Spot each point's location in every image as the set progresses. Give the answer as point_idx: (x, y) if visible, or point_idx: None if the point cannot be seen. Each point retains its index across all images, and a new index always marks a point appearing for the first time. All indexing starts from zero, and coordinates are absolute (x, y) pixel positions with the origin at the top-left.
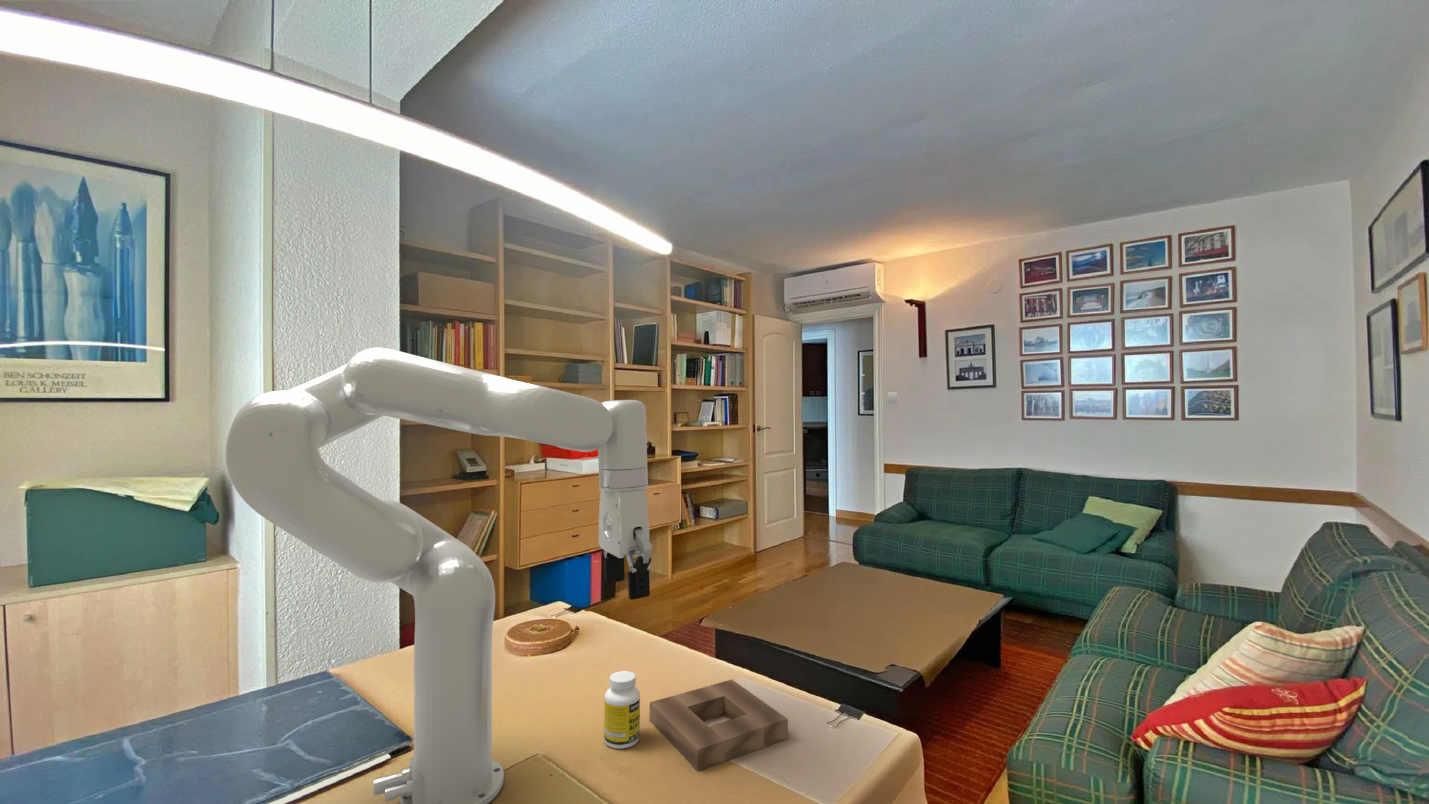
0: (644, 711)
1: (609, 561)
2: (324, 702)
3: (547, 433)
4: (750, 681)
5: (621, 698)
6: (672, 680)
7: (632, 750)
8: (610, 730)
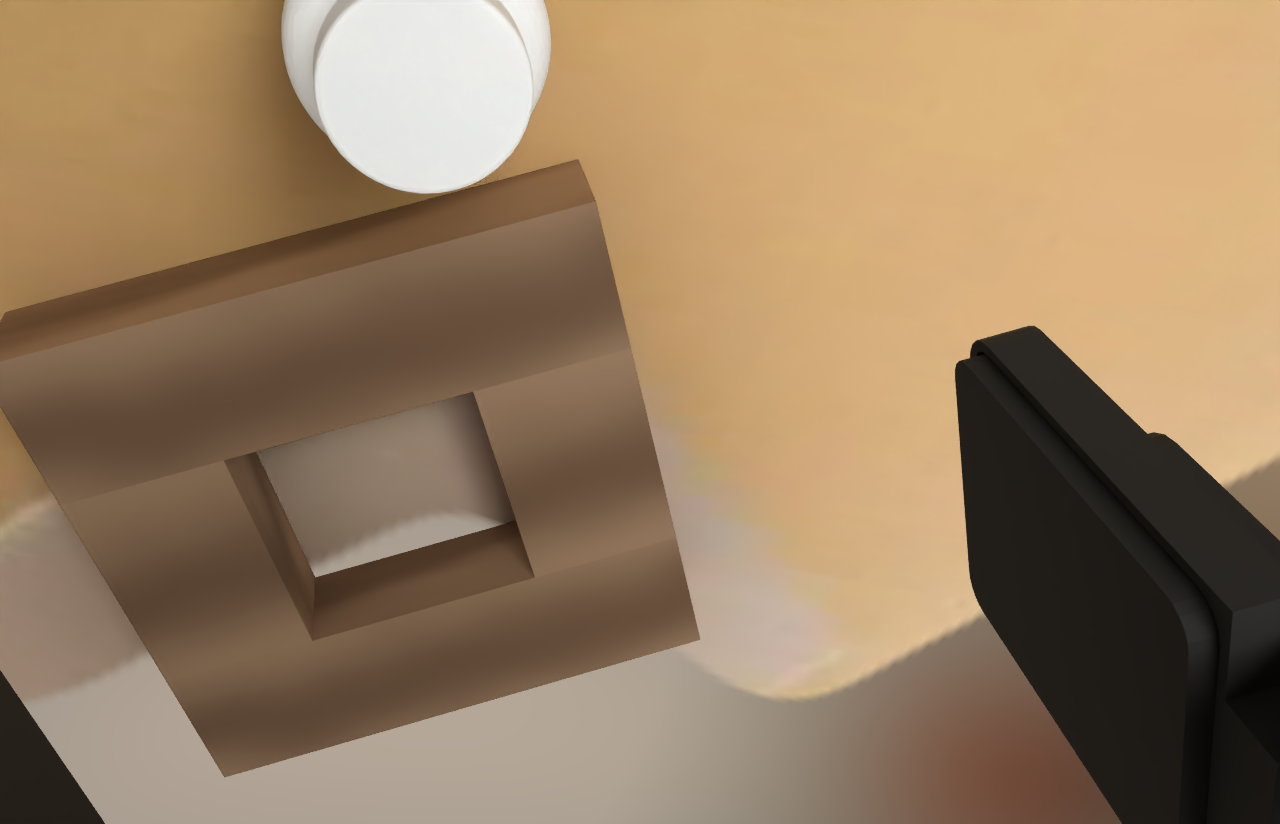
0: (696, 147)
1: (1161, 641)
2: None
3: None
4: (788, 674)
5: (299, 31)
6: None
7: (277, 10)
8: None
